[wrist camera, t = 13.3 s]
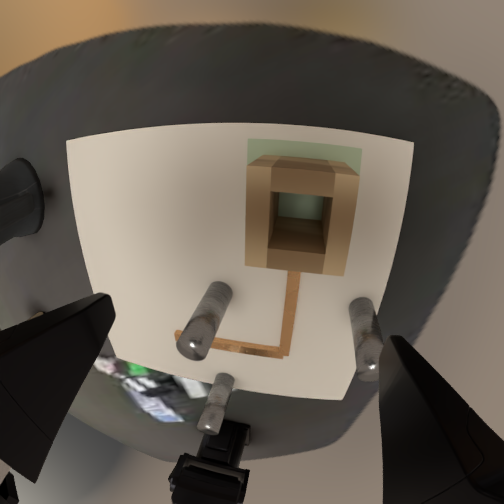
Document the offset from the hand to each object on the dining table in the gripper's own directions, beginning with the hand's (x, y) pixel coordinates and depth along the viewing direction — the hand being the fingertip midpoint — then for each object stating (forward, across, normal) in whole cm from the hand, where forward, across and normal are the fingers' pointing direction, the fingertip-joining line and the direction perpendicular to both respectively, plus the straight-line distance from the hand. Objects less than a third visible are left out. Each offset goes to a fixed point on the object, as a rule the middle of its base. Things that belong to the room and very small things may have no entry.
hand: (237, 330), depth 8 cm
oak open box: (+11, -1, -1) cm, 11 cm away
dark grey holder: (+12, +26, -1) cm, 29 cm away
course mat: (+12, +4, +7) cm, 14 cm away
